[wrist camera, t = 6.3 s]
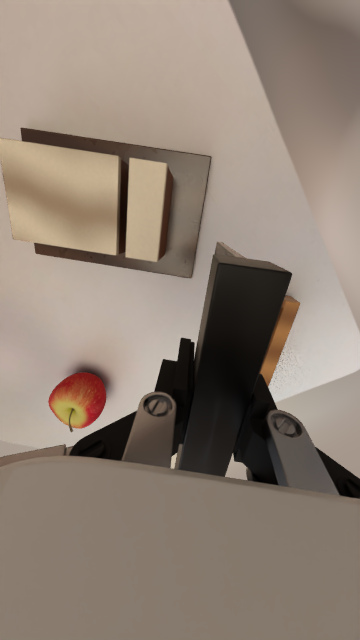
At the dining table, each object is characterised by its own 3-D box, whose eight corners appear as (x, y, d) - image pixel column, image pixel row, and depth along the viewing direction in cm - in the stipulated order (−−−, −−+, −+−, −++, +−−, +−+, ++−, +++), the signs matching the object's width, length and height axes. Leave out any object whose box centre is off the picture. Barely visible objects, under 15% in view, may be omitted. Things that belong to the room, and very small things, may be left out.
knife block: (256, 290, 31) (262, 297, 28) (291, 296, 31) (300, 303, 28) (231, 375, 37) (234, 387, 34) (261, 380, 37) (266, 392, 34)
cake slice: (144, 172, 26) (129, 157, 20) (173, 176, 26) (166, 163, 20) (138, 251, 29) (125, 257, 24) (164, 255, 29) (157, 262, 24)
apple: (109, 404, 42) (84, 455, 33) (66, 392, 41) (28, 439, 32) (117, 371, 39) (92, 417, 29) (71, 357, 38) (30, 398, 29)
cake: (26, 130, 26) (-31, 98, 19) (211, 158, 25) (215, 135, 19) (40, 252, 31) (-1, 259, 25) (191, 276, 31) (189, 290, 25)
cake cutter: (205, 240, 15) (217, 262, 6) (233, 243, 15) (293, 272, 6) (183, 376, 20) (169, 514, 11) (204, 379, 20) (210, 520, 10)
